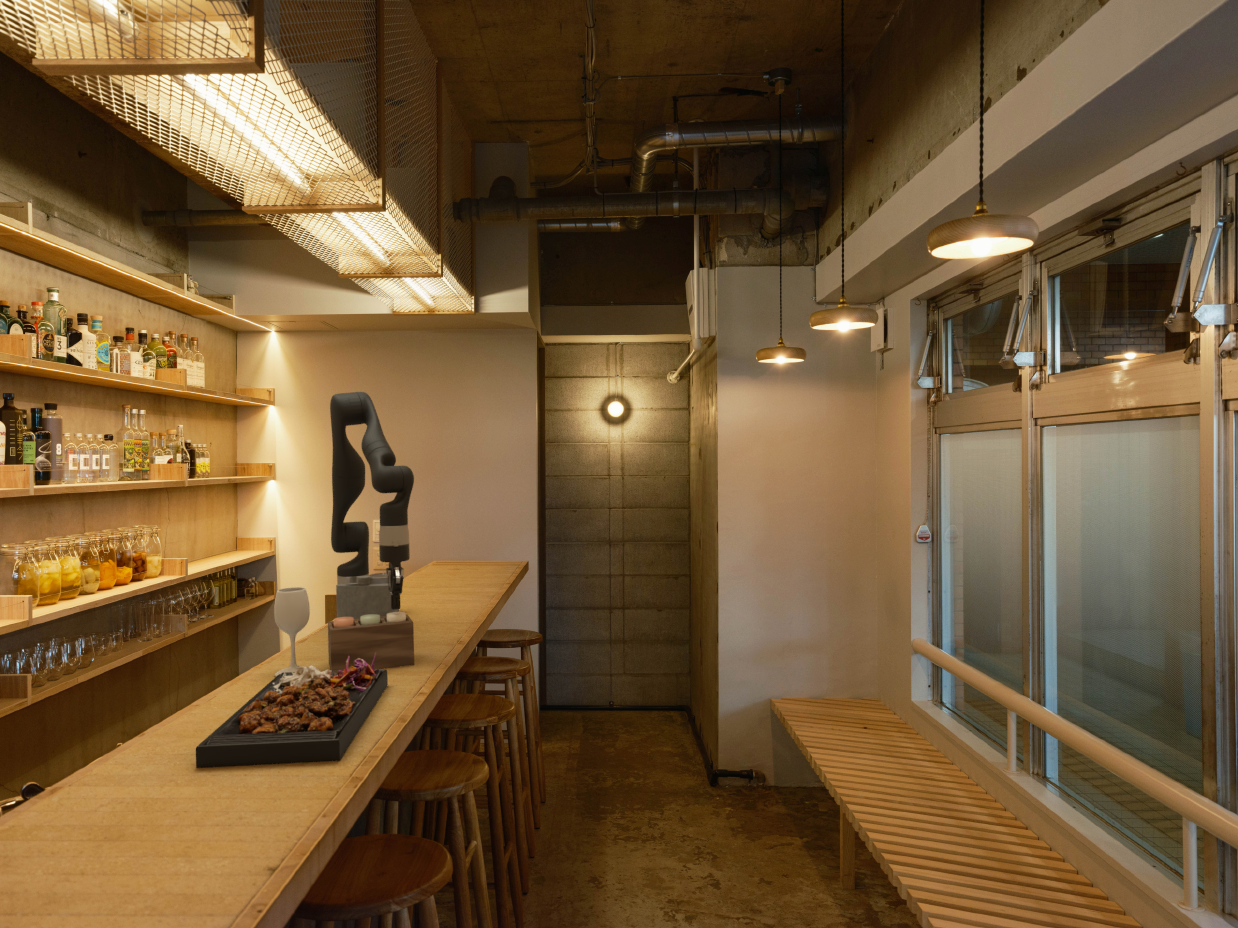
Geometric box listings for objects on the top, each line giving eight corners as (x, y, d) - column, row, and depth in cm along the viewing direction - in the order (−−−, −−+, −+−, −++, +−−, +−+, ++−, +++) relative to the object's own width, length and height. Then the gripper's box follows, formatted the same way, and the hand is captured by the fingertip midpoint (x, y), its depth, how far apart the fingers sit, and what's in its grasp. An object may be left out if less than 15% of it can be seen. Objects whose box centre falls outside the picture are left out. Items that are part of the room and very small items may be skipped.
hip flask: (395, 645, 226) (394, 574, 226) (391, 648, 222) (389, 576, 222) (340, 645, 227) (338, 574, 226) (334, 648, 223) (332, 577, 222)
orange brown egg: (333, 631, 205) (332, 617, 205) (352, 629, 207) (352, 615, 207) (334, 635, 200) (334, 621, 200) (354, 633, 202) (354, 619, 202)
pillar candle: (367, 614, 268) (365, 569, 267) (396, 611, 272) (395, 567, 271) (371, 620, 259) (370, 574, 258) (401, 617, 263) (400, 571, 262)
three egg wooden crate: (328, 663, 208) (327, 621, 207) (407, 654, 215) (406, 614, 215) (331, 674, 197) (330, 630, 197) (414, 664, 205) (413, 622, 205)
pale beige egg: (385, 626, 210) (385, 612, 210) (404, 624, 212) (404, 611, 212) (388, 629, 206) (387, 616, 206) (407, 627, 207) (407, 614, 207)
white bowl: (266, 675, 197) (264, 591, 197) (295, 666, 205) (293, 585, 204) (291, 680, 193) (289, 593, 193) (319, 670, 201) (317, 587, 200)
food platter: (279, 692, 186) (278, 648, 185) (387, 688, 188) (386, 644, 188) (196, 771, 141) (194, 713, 141) (339, 764, 143) (338, 707, 143)
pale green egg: (359, 628, 207) (359, 615, 207) (379, 626, 209) (378, 613, 209) (361, 632, 203) (361, 618, 203) (381, 630, 205) (381, 616, 205)
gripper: (376, 540, 213) (377, 605, 213) (382, 546, 201) (384, 615, 201) (405, 539, 216) (406, 603, 216) (413, 544, 204) (414, 612, 204)
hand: (395, 608), depth 209 cm, fingers closed
